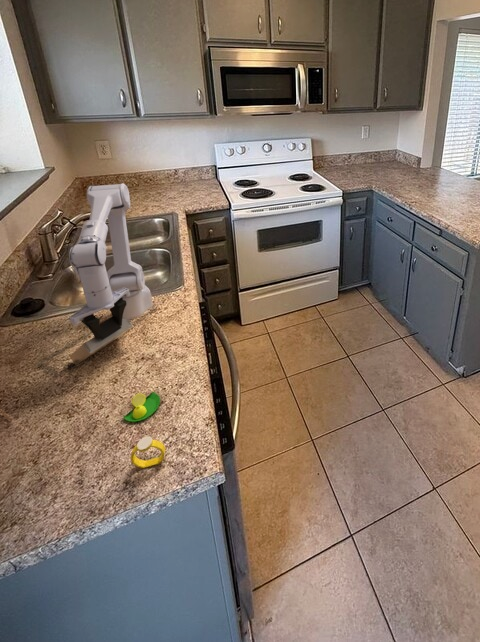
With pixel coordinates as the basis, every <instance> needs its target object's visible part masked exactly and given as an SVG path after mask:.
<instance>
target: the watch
mask: <svg viewBox="0 0 480 642" xmlns="http://www.w3.org/2000/svg"><path fill="white" fill-rule="evenodd" d="M151 448H153V449H154V448H155V449H157V450H159V451H160V453H161V454H160V455H159V456H158V457H155V458H151V459H147V460H144V459H140V458H139V457H137V456H136V453H137V452H140V453H144V452H146V451H148V450H150V449H151ZM165 453H166V446H165V445H164V443H163V442H161V441H160V440H157V439H153V437H152V436H148V435H147V436H144V437H142V438H141V439H139V441H137V444H136V445H135V446H133V449H132V451H131V454H130V461H131V464H133V465H134V466H136V467H137V468H141V469H146V468H148V467H153V466H156V465H160V463H162V461H163V460H164V457H165Z"/></svg>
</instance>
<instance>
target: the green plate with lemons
mask: <svg viewBox="0 0 480 642" xmlns="http://www.w3.org/2000/svg"><path fill="white" fill-rule="evenodd" d="M131 404H132V406H133V409H131V410H130V411H129V412H127V413H126V414H125V415H123V419H124V420H126V421H127V422H140V421H143V420H145V419H147V418H149V417H150V416H151V415H153V414H154V413H155V412H156V411H157V410H158V408H159V406H160V405H161V397H160V395H159V394H157V393H156V392H151V393H149V394H147V396H146V395H145V394H144V393H143V392H138V393H136V394H135V395H134V396H133V397H132V399H131Z"/></svg>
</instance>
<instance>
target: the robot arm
mask: <svg viewBox="0 0 480 642" xmlns="http://www.w3.org/2000/svg"><path fill="white" fill-rule="evenodd" d="M86 199H87V202H88V204H89V206H90V214H89V220H87V221H85V222H84V223H83V224H82V227H81V230H80V233H79V237H78V240H77V243H76V244H74V245H73V246H71V247H70V249H69V252H68V256H69V257H68V258H69V265H70V266H71V268H73V270H74V272H75V274H76V275H77V276H79V277H78V278H79V280H80V284H81V287H82V291H83V294H84V297H85V301H86V304H84V306H82V307H81V308H80V309H78V310H77V311H76V312H74V313H73V314H72V315H69V321H70V324H72V325H74V326H78V325H80V323H82V324H83V325H85V327H87V328H88V329H89V331H90V332H91V334H92V335H93V337H95V338H97V339H99V340H100V339H102V333H101V330H100V323H101V319H100V318H98V317H97V316H96V315H95V314H96V313H99V312H102V311H104V310H105V311H110V314H111V317H112V316H114V317H115V319H116V320H117V322H118V323H119V325H120V326H122V320H123V319H124V318H126V317H127V318H128V320H129V321H130V320H135V319H137V318H139V317H141V316H143V315H144V314H145V313H146V312H147V311H149V310H150V309H152V308H154V301H153V296H152V293H151V290H150V288H149V287H148V285H146V278H145V274H144V271H143V267H142V265H140V264H138V263H136V262H134V261H132V256H131V249H130V241H129V234H128V227H127V217H126V212H127V211H129V210H130V209H131V206H132V205H131V204H132V203H131V196H130V191H129V188H128V186H127V185H126V184H125V183H118V184H104V185H103V184H102V185H89V186H88V188H87V190H86ZM107 221H108V224H107V223H106V222H107ZM108 232H109V236H110V245H111V251H112V258H113V266H111V267H110V268H109V269H108V270H107V267H106V260H107V245H106V240H107V236H108Z"/></svg>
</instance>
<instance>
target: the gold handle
mask: <svg viewBox="0 0 480 642" xmlns="http://www.w3.org/2000/svg"><path fill="white" fill-rule="evenodd" d="M75 366H76V364H75V363H74V362H72V363H70V364H68V365H67V367H68V368H69V369H72V368H73V367H75Z"/></svg>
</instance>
